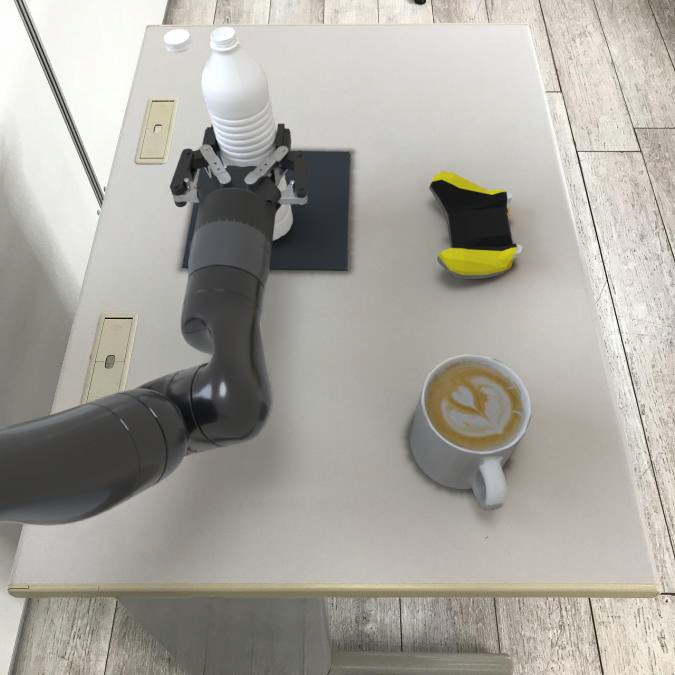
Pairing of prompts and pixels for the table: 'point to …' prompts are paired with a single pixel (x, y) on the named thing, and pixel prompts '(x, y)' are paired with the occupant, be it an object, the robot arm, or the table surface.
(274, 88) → the table surface
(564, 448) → the table surface
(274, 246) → the mat
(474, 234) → the gaming controller
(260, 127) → the water bottle
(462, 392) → the coffee mug
